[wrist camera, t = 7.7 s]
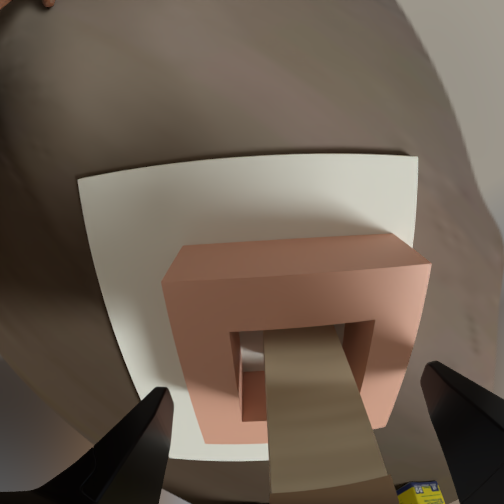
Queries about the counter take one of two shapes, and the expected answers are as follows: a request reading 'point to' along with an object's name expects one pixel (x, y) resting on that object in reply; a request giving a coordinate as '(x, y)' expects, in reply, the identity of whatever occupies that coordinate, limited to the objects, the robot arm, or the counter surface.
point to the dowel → (318, 424)
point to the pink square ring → (291, 318)
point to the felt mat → (224, 231)
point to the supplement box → (420, 493)
